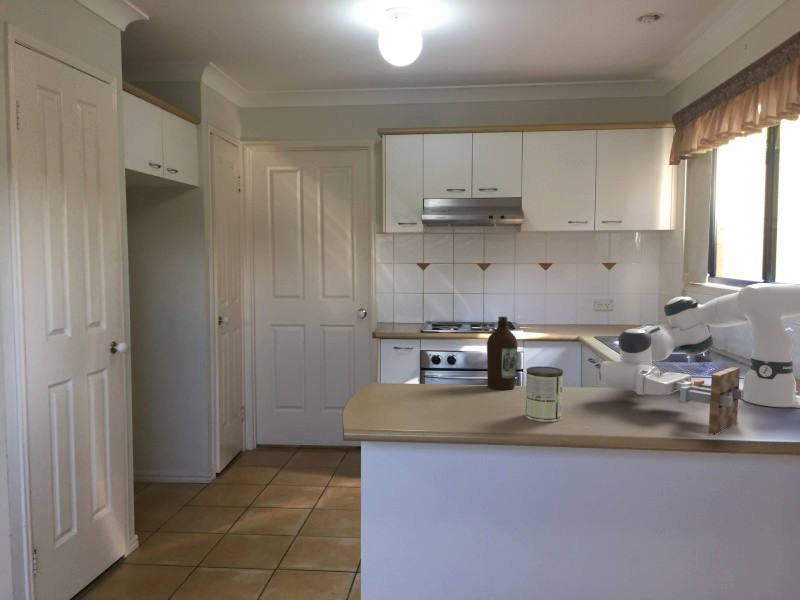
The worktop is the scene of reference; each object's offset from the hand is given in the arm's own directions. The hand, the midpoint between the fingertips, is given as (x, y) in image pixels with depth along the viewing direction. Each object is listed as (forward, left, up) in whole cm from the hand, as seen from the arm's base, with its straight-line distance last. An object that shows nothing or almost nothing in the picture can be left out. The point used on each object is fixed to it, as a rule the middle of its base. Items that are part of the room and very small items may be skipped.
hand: (695, 387), depth 186 cm
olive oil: (+10, -62, -9) cm, 64 cm away
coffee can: (+34, -30, -9) cm, 46 cm away
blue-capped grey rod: (+12, +7, -2) cm, 14 cm away
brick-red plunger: (0, +6, -2) cm, 7 cm away
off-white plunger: (+6, +5, -2) cm, 8 cm away
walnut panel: (+6, +10, -9) cm, 14 cm away
